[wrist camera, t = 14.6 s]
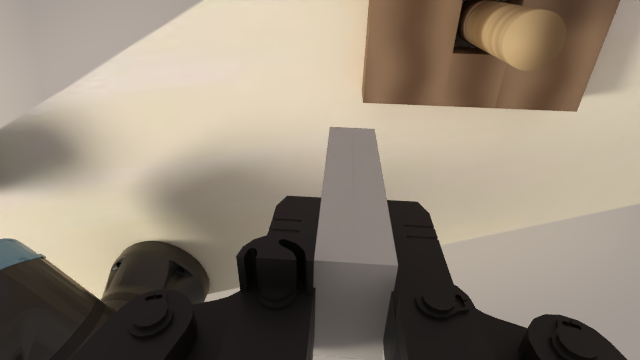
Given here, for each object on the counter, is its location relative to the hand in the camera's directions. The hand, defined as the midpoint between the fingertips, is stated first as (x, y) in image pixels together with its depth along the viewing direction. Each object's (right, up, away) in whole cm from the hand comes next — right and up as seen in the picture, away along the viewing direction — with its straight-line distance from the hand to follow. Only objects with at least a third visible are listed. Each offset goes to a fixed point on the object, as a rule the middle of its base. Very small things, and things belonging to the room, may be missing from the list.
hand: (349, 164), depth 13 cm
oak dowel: (+15, +16, +25) cm, 33 cm away
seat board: (+15, +16, +25) cm, 33 cm away
